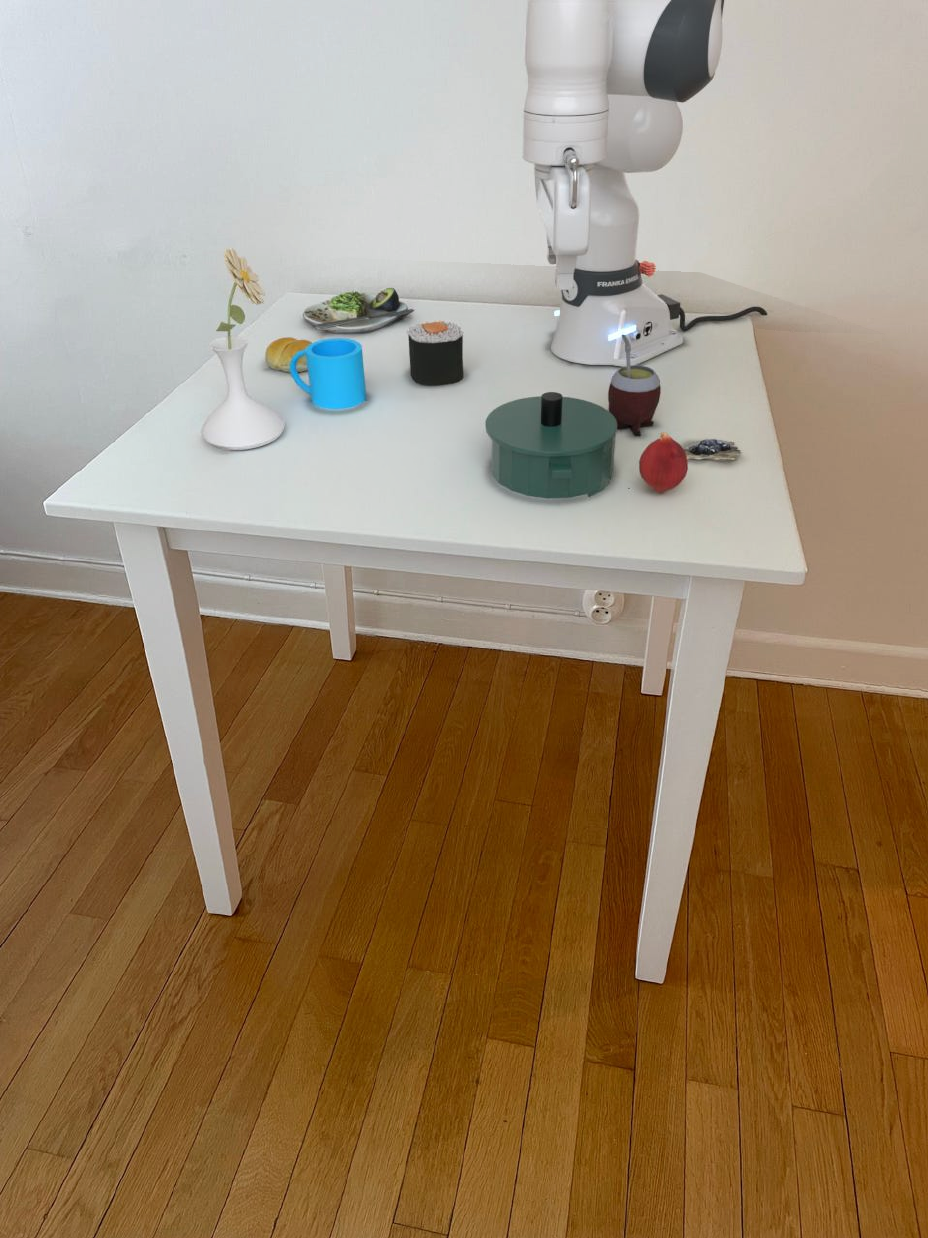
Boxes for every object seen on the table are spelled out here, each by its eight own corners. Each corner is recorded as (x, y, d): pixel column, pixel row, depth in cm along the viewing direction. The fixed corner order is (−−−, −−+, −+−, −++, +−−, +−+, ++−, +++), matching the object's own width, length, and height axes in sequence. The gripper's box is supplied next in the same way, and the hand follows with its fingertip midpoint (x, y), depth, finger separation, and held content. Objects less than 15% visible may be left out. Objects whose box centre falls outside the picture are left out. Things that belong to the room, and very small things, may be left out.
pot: (599, 435, 131) (603, 391, 127) (624, 511, 114) (628, 463, 111) (488, 438, 131) (488, 394, 127) (496, 515, 114) (496, 467, 110)
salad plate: (351, 348, 160) (348, 320, 157) (278, 326, 169) (275, 300, 166) (425, 316, 172) (424, 290, 169) (354, 297, 181) (352, 273, 178)
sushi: (404, 370, 151) (401, 320, 147) (454, 363, 153) (452, 314, 149) (417, 389, 145) (415, 338, 140) (469, 381, 147) (468, 331, 142)
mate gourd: (647, 414, 136) (657, 309, 127) (665, 437, 130) (678, 329, 121) (596, 418, 135) (603, 314, 127) (613, 443, 129) (621, 334, 120)
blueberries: (746, 464, 123) (748, 451, 122) (685, 467, 123) (687, 454, 122) (730, 441, 129) (732, 428, 128) (672, 444, 128) (673, 431, 127)
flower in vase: (260, 463, 126) (229, 271, 112) (187, 451, 130) (147, 263, 115) (306, 423, 136) (283, 242, 121) (237, 413, 140) (206, 235, 125)
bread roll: (288, 350, 159) (285, 327, 157) (330, 360, 155) (327, 336, 153) (254, 367, 154) (250, 342, 151) (296, 377, 150) (293, 353, 147)
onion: (682, 481, 120) (689, 423, 115) (685, 504, 115) (694, 444, 111) (635, 480, 121) (641, 421, 116) (637, 502, 116) (643, 442, 111)
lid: (606, 402, 126) (609, 368, 123) (626, 459, 113) (629, 422, 110) (483, 405, 126) (482, 371, 123) (488, 463, 113) (487, 426, 110)
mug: (376, 394, 144) (371, 342, 139) (350, 416, 138) (344, 361, 133) (307, 383, 148) (301, 332, 143) (279, 404, 142) (271, 351, 137)
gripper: (609, 159, 91) (599, 303, 99) (582, 122, 108) (576, 248, 116) (543, 161, 91) (539, 305, 99) (527, 124, 108) (524, 250, 116)
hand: (559, 274), depth 108 cm, fingers open, 8 cm apart
